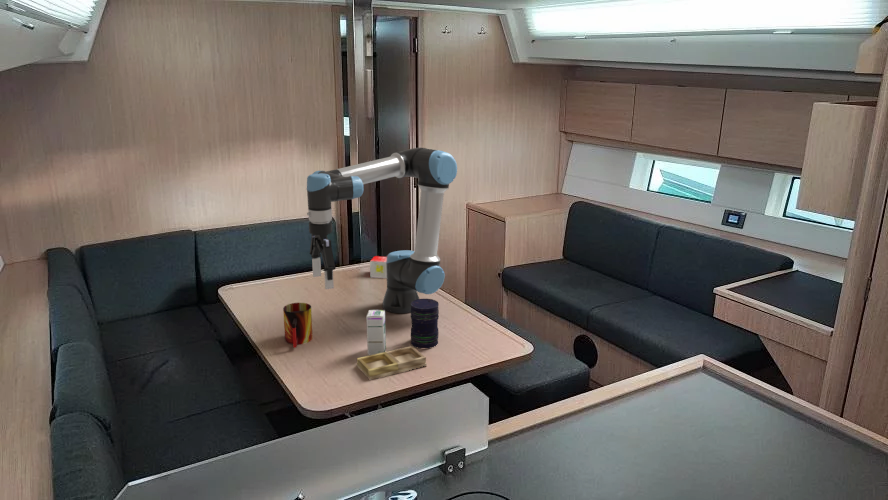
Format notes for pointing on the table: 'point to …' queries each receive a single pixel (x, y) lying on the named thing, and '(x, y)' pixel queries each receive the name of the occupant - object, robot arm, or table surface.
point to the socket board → (391, 362)
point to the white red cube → (378, 267)
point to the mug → (297, 323)
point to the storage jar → (424, 323)
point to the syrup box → (376, 332)
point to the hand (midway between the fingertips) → (323, 282)
